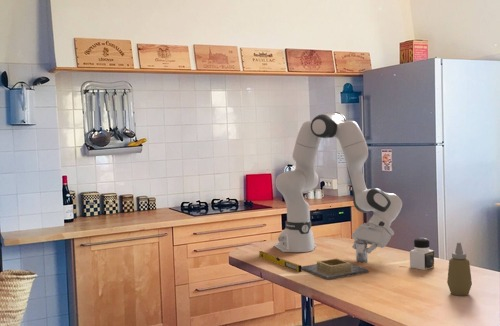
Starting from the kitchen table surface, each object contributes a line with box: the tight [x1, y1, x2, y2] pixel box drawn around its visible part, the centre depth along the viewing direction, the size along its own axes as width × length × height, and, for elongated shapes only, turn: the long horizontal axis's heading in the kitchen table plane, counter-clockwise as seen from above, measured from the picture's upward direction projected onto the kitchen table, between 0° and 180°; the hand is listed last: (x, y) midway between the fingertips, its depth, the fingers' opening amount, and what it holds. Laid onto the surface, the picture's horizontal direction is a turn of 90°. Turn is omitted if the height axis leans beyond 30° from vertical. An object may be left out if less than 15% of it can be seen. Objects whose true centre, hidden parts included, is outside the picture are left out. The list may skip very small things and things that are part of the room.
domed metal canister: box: [355, 240, 368, 264], centre depth 246 cm, size 5×5×9 cm
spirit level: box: [258, 250, 302, 273], centre depth 247 cm, size 33×1×3 cm, turn 28°
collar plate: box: [301, 257, 369, 280], centre depth 233 cm, size 20×20×4 cm
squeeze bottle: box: [446, 242, 473, 297], centre depth 196 cm, size 8×8×18 cm
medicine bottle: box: [409, 237, 435, 271], centre depth 233 cm, size 7×7×12 cm
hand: (360, 250), depth 246 cm, fingers open, 8 cm apart
